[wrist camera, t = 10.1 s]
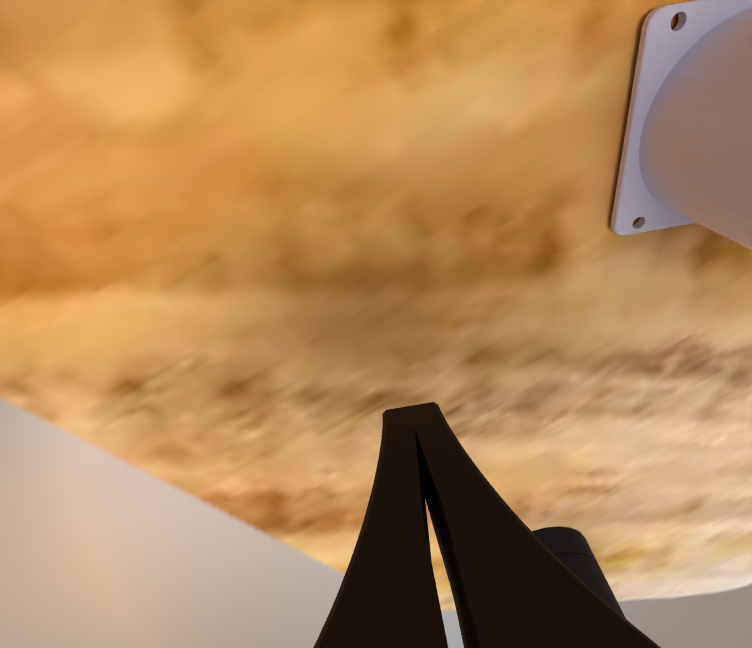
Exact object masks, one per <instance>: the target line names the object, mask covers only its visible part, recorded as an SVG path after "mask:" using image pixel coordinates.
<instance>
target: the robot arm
mask: <svg viewBox="0 0 752 648" xmlns="http://www.w3.org/2000/svg"><path fill="white" fill-rule="evenodd" d="M676 13H677V14H678V16H679V21H678V23H677V26H676V27H675V28H674V29H673V30H672V29H671V25H670V23H671V20H672V18H673V17H674V16H675V14H676ZM638 217H640V219H639V221H638V222H637V223H636V224H635V225H633V222H634V220H635V219H636V218H638ZM694 223H698V224H700V225H702V226H704V227H706V228H708V229H710V230H712V231H714V232H716V233H718V234H720V235H722V236H724V237H726V238H728V239H730V240H732V241H734V242H736V243H738V244H740V245H742V246H744V247H746V248H748V249H750V250H752V0H693V1H687V2H681V3H676V4H670V5H665V6H660V7H657V8H655V9H653V10H652V11H651V12H650V13H649V14H648V15H647V17H646V18H645V20H644V23H643V26H642V31H641V38H640V44H639V50H638V56H637V63H636V69H635V75H634V81H633V88H632V94H631V100H630V106H629V113H628V119H627V125H626V132H625V138H624V144H623V150H622V157H621V163H620V169H619V175H618V182H617V188H616V194H615V200H614V207H613V213H612V219H611V229H612V230H613V232H615V233H616V234H618V235H630V234H636V233H642V232H647V231H653V230H659V229H665V228H670V227H676V226H682V225H688V224H694ZM382 415H383V428H382V440H381V447H380V454H379V460H378V464H377V469H376V474H375V479H374V484H373V488H372V492H371V496H370V499H369V503H368V507H367V510H366V514H365V518H364V521H363V525H362V528H361V531H360V534H359V537H358V540H357V543H356V546H355V549H354V552H353V555H352V558H351V561H350V563H349V566H348V569H347V571H346V574H345V576H344V579H343V581H342V584H341V587H340V589H339V592H338V594H337V597H336V599H335V601H334V604H333V606H332V608H331V611H330V613H329V615H328V618H327V620H326V622H325V624H324V626H323V628H322V631H321V633H320V635H319V637H318V640H317V642H316V643H315V646H314V648H448V644H447V639H446V634H445V629H444V624H443V619H442V614H441V609H440V604H439V598H438V593H437V588H436V583H435V578H434V573H433V568H432V562H431V552H430V542H429V533H428V523H427V513H426V503H427V506H428V510H429V513H430V517H431V520H432V524H433V527H434V530H435V534H436V537H437V541H438V544H439V548H440V551H441V555H442V558H443V561H444V565H445V568H446V572H447V575H448V579H449V582H450V586H451V590H452V594H453V598H454V602H455V606H456V611H457V615H458V620H459V625H460V630H461V635H462V639H463V645H464V648H660V647H659V646H658V645H657V644H656V643H654V642H653V641H652V640H651V639H649V638H648V637H647V636H646V635H645V634H643V633H642V632H641V631H640V630H638V629H637V628H636V627H635V626H633V625H632V624H631V623H630V622H629V621H627V620H626V619H625V618H624V617H623V616H622V615H620V614H619V613H618V612H617V611H616V610H615V609H613V608H612V607H611V606H610V605H609V604H608V603H606V602H605V601H604V600H603V599H602V598H601V597H599V596H598V595H597V594H596V593H595V592H594V591H593V590H592V589H591V588H590V587H589V586H588V585H586V584H585V583H584V582H583V581H582V580H581V579H580V578H579V577H578V576H577V575H576V574H574V573H573V572H572V571H571V570H570V569H569V568H568V567H567V566H566V565H565V564H564V563H563V562H561V561H560V560H559V559H558V558H557V557H556V556H555V555H554V554H553V553H552V552H551V551H550V550H549V549H548V548H547V547H546V546H545V545H544V544H543V543H542V542H541V541H540V540H539V539H538V538H537V537H536V536H535V535H534V534H533V532H532V531H531V530H530V529H529V528H528V527H527V526H526V525H525V524H524V523H523V522H522V521H521V520H520V519H519V517H518V516H517V515H516V514H515V513H514V512H513V511H512V510H511V508H510V507H509V506H508V505H507V504H506V503H505V502H504V500H503V499H502V498H501V497H500V496H499V494H498V493H497V492H496V491H495V489H494V488H493V487H492V486H491V485H490V483H489V482H488V481H487V480H486V478H485V477H484V476H483V474H482V473H481V472H480V470H479V469H478V468H477V466H476V465H475V464H474V462H473V461H472V460H471V458H470V457H469V456H468V454H467V453H466V451H465V450H464V448H463V447H462V446H461V444H460V443H459V441H458V439H457V438H456V436H455V435H454V433H453V432H452V430H451V428H450V427H449V425H448V423H447V422H446V420H445V418H444V416H443V414H442V412H441V410H440V408H439V406H438V404H436V403H434V402H431V403H425V404H419V405H413V406H407V407H401V408H395V409H389V410H386V411H385V412H384V413H383V414H382ZM425 499H426V503H425Z"/></svg>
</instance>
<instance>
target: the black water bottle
mask: <svg viewBox="0 0 752 648" xmlns="http://www.w3.org/2000/svg"><path fill="white" fill-rule="evenodd" d="M533 534H534V535H535V536H536V537H537V538H538V539H539V540H540V541H541V542H542V543H543V544H544V545H545V546H546V547H547V548H548V549H549V550H550V551H551V552H552V553H553V554H554V555H555V556H556V557H557V558H558V559H559V560H560V561H561V562H563V563H564V564H565V565H566V566H567V567H568V568H569V569H570V570H571V571H572V572H573V573H574V574H576V575H577V576H578V577H579V578H580V579H581V580H582V581H583V582H584V583H585V584H586V585H588V586H589V587H590V588H591V589H592V590H593V591H594V592H595V593H596V594H597V595H598V596H599V597H601V598H602V599H603V600H604V601H605V602H606V603H608V604H609V605H610V606H611V607H612V608H613V609H615V610H616V611H617V612H618V613H619V614H620V615H622V616H623V617H624V618H625V616H624V614H623V612H622V610H621V608H620V606H619V604H618V602H617V600H616V598H615V596H614V594H613V592H612V590H611V588H610V586H609V584H608V582H607V580H606V578H605V576H604V574H603V572H602V571H601V569H600V567H599V565H598V563H597V561H596V559H595V557H594V555H593V553H592V551H591V549H590V547H589V545H588V543H587V541H586V539H585V538H584V536H583V535H582V534H581V533H580V532H577V531H575V530H573V529H569V528H560V527H558V528H546V529H542V530H539V531H535V532H533ZM625 619H626V618H625Z"/></svg>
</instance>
